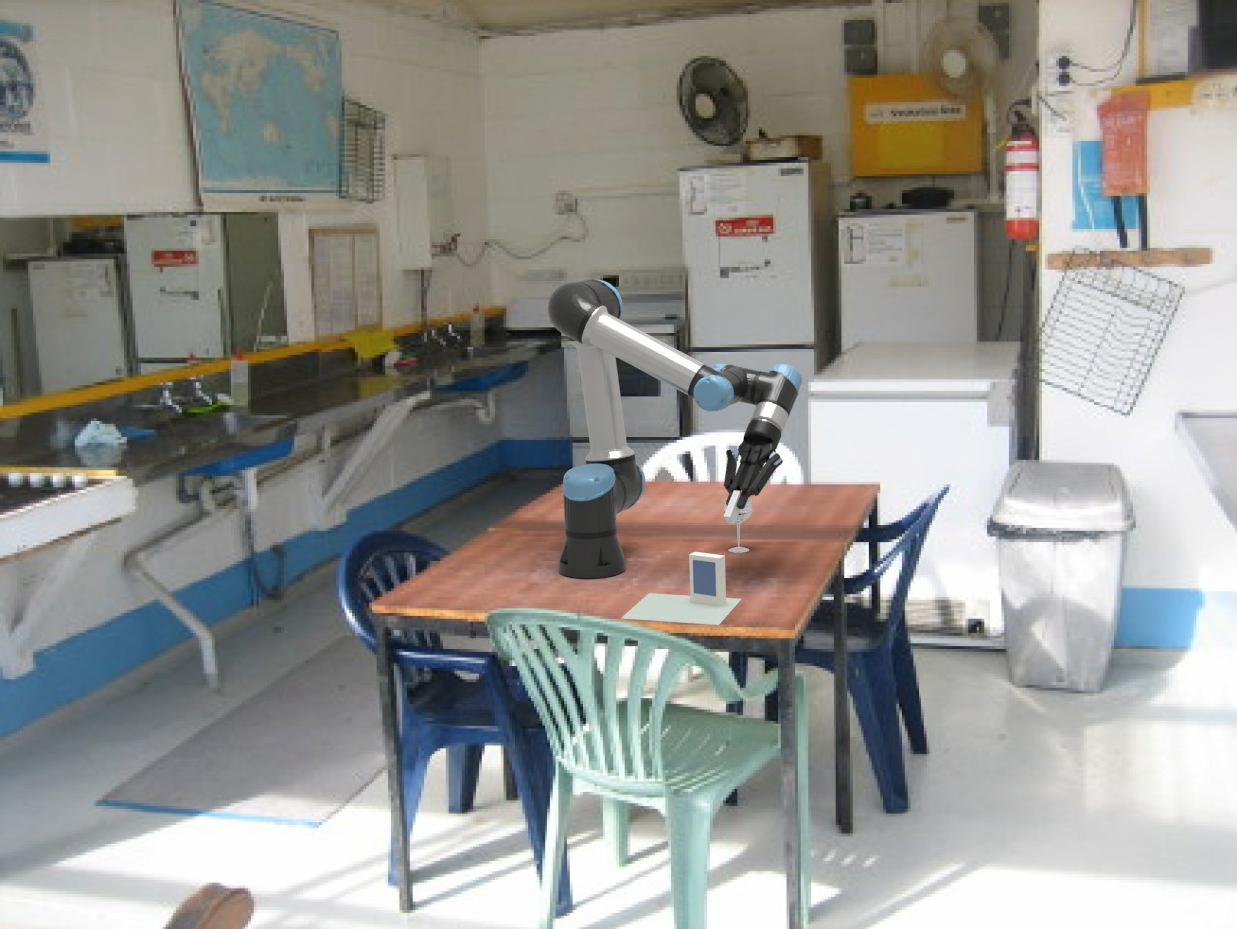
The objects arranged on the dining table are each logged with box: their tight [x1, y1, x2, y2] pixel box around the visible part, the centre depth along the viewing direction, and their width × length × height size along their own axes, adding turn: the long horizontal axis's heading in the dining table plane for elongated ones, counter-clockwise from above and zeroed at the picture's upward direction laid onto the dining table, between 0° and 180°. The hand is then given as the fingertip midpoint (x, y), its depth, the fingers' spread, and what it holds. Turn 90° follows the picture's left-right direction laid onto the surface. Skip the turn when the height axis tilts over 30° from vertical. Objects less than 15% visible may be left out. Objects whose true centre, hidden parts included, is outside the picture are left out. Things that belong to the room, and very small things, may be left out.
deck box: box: [688, 551, 727, 606], centre depth 270 cm, size 2×7×10 cm, turn 55°
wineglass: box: [723, 497, 753, 554], centre depth 313 cm, size 7×7×12 cm
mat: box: [620, 592, 742, 626], centre depth 267 cm, size 20×18×1 cm
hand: (729, 520), depth 275 cm, fingers closed
